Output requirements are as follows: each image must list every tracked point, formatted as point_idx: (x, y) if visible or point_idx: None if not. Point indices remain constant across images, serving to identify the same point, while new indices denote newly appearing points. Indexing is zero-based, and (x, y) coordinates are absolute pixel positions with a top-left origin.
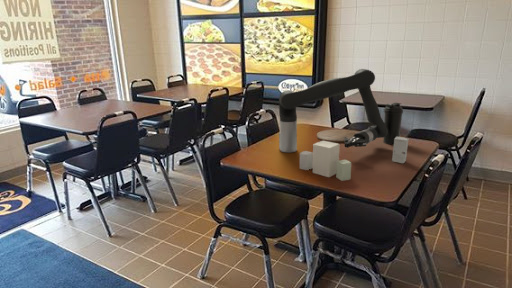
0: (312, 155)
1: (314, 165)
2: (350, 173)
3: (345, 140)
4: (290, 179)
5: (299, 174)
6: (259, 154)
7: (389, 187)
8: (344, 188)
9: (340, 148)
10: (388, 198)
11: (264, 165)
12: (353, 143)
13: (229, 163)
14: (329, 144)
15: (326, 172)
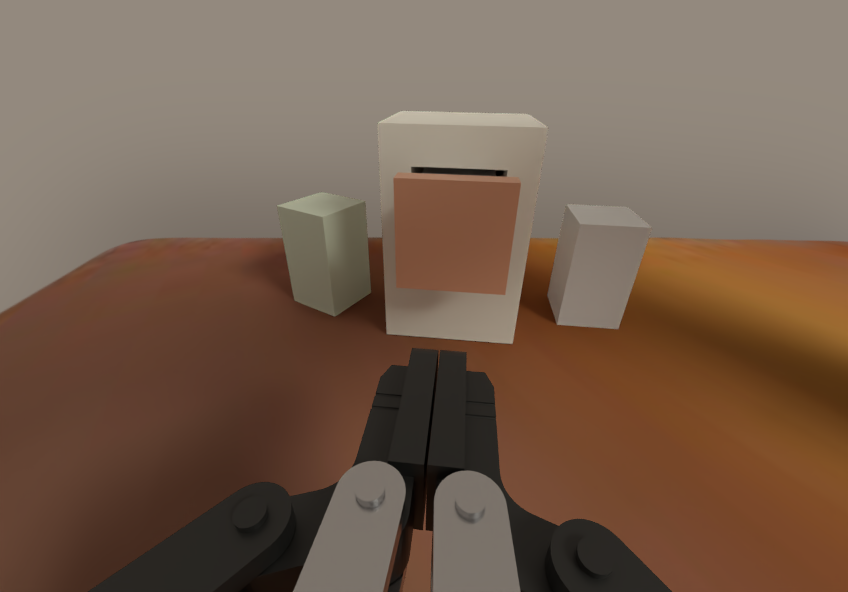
0: (575, 243)
1: None
2: (289, 269)
3: (631, 569)
4: None
5: (534, 264)
6: None
7: (80, 302)
8: None
9: (394, 205)
10: (129, 249)
11: (746, 270)
12: (329, 497)
13: (842, 243)
14: (439, 118)
15: None
